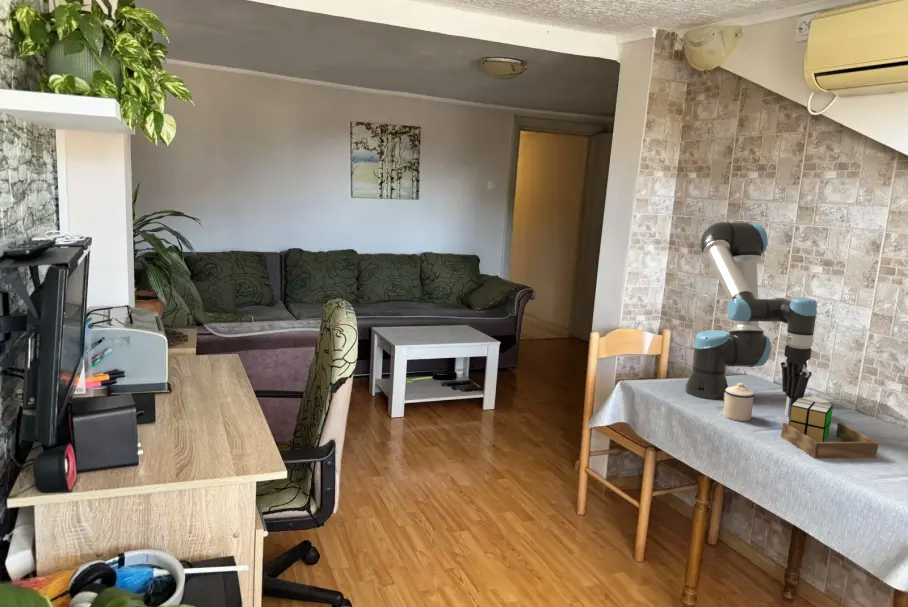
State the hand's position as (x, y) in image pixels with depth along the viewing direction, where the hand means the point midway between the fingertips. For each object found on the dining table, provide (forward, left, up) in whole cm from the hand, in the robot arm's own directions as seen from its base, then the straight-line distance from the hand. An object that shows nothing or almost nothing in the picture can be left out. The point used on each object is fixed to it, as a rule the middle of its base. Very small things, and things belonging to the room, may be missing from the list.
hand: (789, 416), depth 210 cm
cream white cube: (-7, +14, -3) cm, 15 cm away
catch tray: (+19, 0, -3) cm, 19 cm away
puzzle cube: (+10, 0, -3) cm, 10 cm away
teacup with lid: (-8, -14, -3) cm, 17 cm away
